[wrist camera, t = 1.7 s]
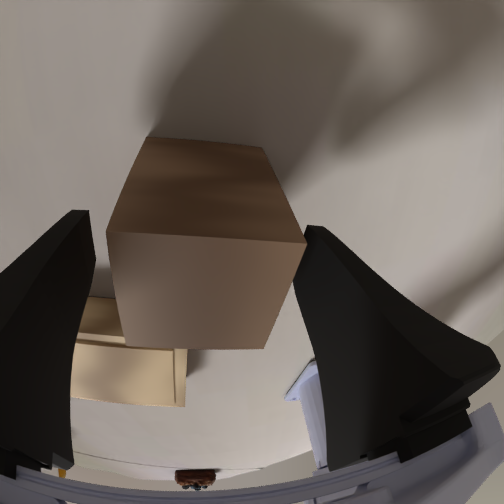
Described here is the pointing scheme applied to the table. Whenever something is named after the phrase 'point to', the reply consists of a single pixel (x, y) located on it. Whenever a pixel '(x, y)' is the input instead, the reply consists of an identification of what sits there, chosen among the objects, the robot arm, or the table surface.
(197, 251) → the walnut block
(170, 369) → the oak base
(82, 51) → the table surface
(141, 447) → the table surface
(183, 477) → the pastry
